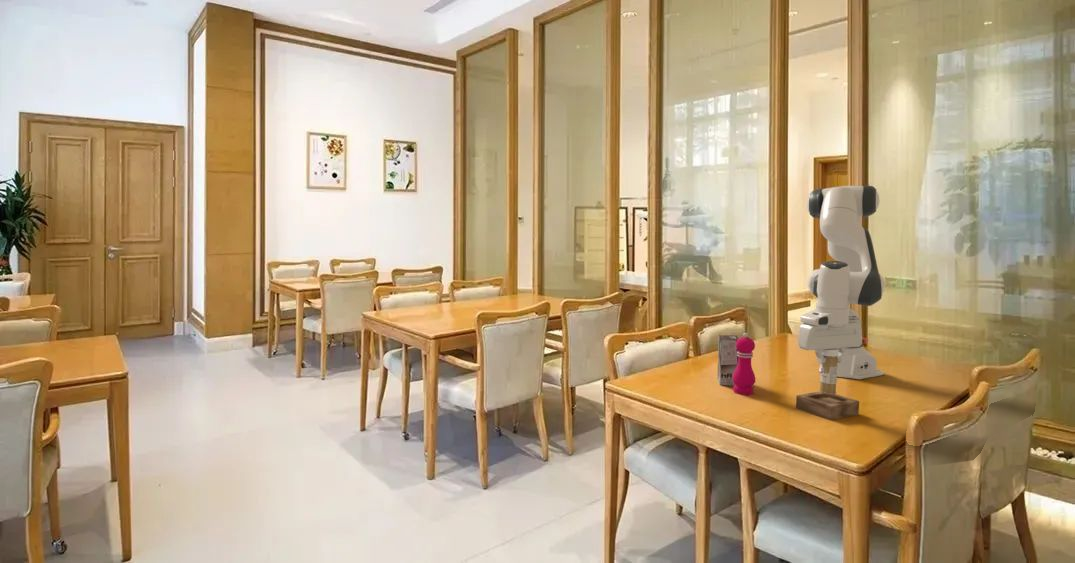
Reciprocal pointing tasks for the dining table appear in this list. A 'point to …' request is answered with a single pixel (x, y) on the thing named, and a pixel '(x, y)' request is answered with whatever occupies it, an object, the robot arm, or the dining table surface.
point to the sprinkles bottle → (829, 372)
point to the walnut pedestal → (827, 405)
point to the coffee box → (727, 359)
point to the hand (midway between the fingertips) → (829, 363)
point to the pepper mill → (744, 366)
